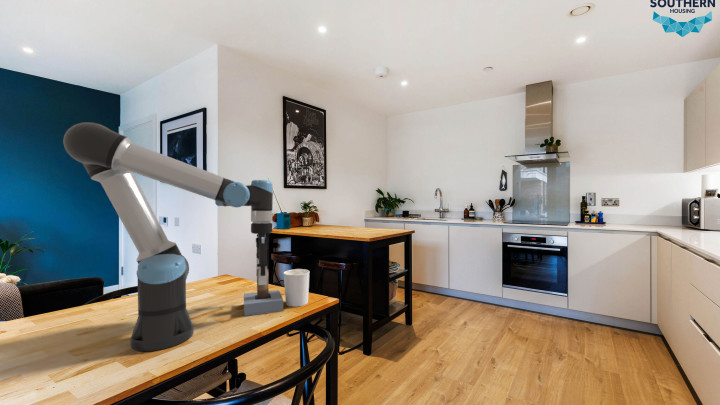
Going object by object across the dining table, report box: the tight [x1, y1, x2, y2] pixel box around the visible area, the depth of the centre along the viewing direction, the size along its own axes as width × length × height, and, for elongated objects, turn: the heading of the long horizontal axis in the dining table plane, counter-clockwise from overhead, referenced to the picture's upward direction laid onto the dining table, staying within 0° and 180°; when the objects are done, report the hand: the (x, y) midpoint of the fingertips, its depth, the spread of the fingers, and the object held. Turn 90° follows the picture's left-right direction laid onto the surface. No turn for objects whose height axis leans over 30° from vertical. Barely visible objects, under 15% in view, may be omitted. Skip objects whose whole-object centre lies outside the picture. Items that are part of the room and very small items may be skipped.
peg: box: [256, 268, 270, 300], centre depth 115 cm, size 4×4×14 cm
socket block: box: [243, 289, 284, 317], centre depth 115 cm, size 13×13×4 cm
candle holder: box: [282, 268, 310, 308], centre depth 119 cm, size 10×10×12 cm
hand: (261, 280), depth 114 cm, fingers open, 13 cm apart
